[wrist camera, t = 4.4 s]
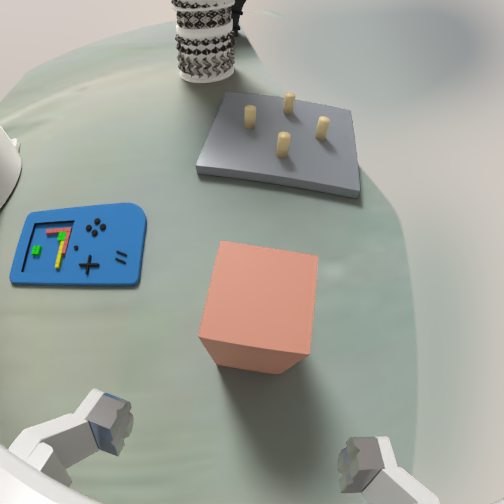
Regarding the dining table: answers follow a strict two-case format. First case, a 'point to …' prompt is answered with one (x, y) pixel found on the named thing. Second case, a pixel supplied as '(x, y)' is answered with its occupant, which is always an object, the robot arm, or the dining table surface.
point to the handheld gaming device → (81, 246)
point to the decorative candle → (205, 39)
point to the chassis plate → (283, 144)
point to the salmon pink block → (259, 308)
